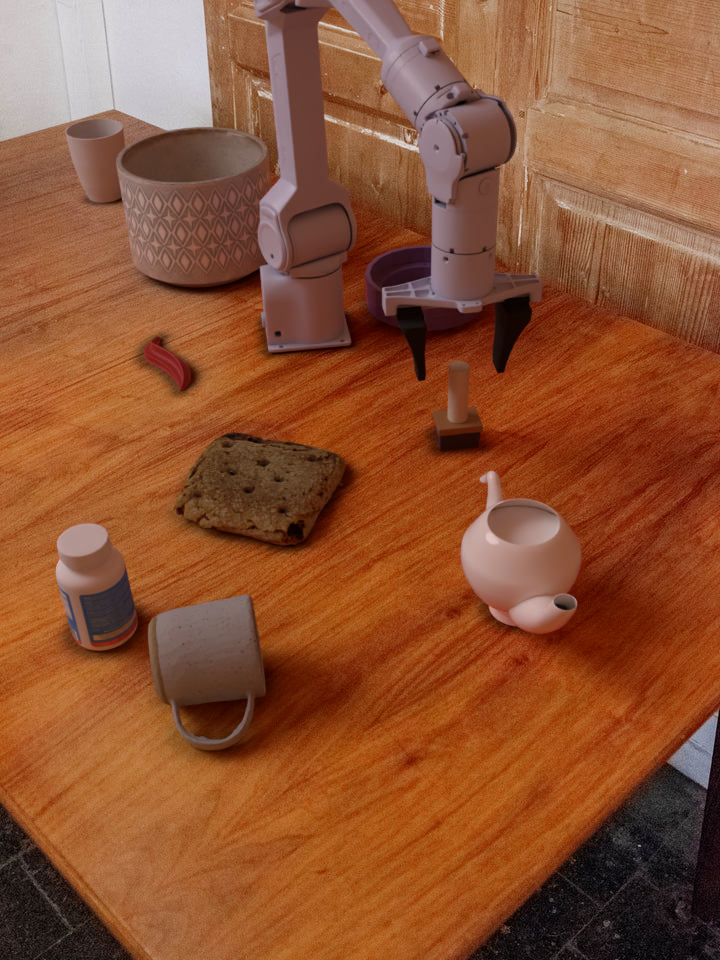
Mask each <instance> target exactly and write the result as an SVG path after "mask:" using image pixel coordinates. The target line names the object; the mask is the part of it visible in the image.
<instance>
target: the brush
mask: <svg viewBox="0 0 720 960" xmlns="http://www.w3.org/2000/svg"><path fill="white" fill-rule="evenodd" d="M470 373H471V366H470V364H469V363H467V362H465V361H463V360H462V361H461V360H457V361H453V362H451V363H449V365H448V378H447V379H448V381H447V382H448V386H447V409H439V410H432V417H431V418H432V420H433V423H434V437H435V440H436V443H437V446H438V449H439V451H440V452H447V451H456V450H465V449H476V448H479V447H480V442H481V441H480V440H481V433H482V432H483V431H484V428H483V427H484V426H483V423H482V420H481V417H480V414H479V412H478V410H477V407H476V406H470V407H469V397H470V396H469V395H470V375H471V374H470Z"/></svg>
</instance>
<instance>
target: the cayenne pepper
mask: <svg viewBox="0 0 720 960" xmlns="http://www.w3.org/2000/svg"><path fill="white" fill-rule="evenodd" d="M161 341H162V337H161V336H158V335H157V336H155V337H154V338H152V339H151V340H150V342H148V343H147V344H146V346H145V347H144V350H143V352H144V353H143V354H144V360H145V361H146V363H148V364H150V365H152V366H154V367H156V368H159V369H161V370H162V371H164V372H165V373H166V374H167V375H169V376H170V377H171V378H172V379H173V380H174V382H175V383H176V384H177V385H178V387H179V391H180V392H182V391H184V390H186V389H187V387H188V386H189V385H190V384H191V381H192V372H191V369H190V366H189V365H188V364H187V363H186V362H185V361H184V360H183V359H181V358H180V357H178V356H176V355H175V354H173V353H172V352H170V351H169V350H167V349H166V348H164V347H162V346H160V344H161V343H162V342H161Z"/></svg>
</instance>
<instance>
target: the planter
mask: <svg viewBox="0 0 720 960" xmlns="http://www.w3.org/2000/svg"><path fill="white" fill-rule="evenodd" d="M270 164H271V163H270V153H269V148H268V145H267V143H266V142H265V141H264V140H263V139H261V138H260V137H258V136H256V135H255V134H253V133H250V132H247V131H244V130H240V129H236V128H229V127H220V126H219V127H218V126H217V127H216V126H196V127H195V126H193V127H184V128H183V127H182V128H176V129H169V130H165V131H160V132H156V133H153V134H150V135H147V136H144V137H141V138H139V139H137V140H134V141H133V142H130V143H129V144H128V145H125V148H124V149H123V150H122V151H121V152H120V153H119V154H118V157H117V159H116V165H117V171H118V177H119V183H120V189H121V195H122V197H121V200H122V206H123V211H124V219H125V224H126V230H127V235H128V241H129V242H128V243H129V247H130V254H131V259H132V263H133V265H134V266H135V268H136V269H137V270H138V271H139V272H141V273H142V274H143V275H145V276H147V277H149V278H151V279H154V280H158V281H161V282H163V283H165V284H168V285H172V286H177V287H183V288H208V287H218V286H222V285H227V284H231V283H234V282H237V281H239V280H241V279H243V278H246V277H248V276H249V275H251V274H252V273H254V272H256V271H258V270H260V266H263V265H267V264H268V263H267V261H266V260H265V258H264V256H263V254H262V252H261V249H260V246H259V241H258V227H259V223H260V204H259V203H260V201H261V199H262V198H263V197H264V196H265V195H266V194H267V192H268V191H269V190H270V189H271V188H272V177H271V165H270Z"/></svg>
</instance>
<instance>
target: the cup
mask: <svg viewBox="0 0 720 960" xmlns="http://www.w3.org/2000/svg"><path fill="white" fill-rule="evenodd" d="M64 135H65V138H66V143H67V147H68V150H69V154H70V158H71V161H72V164H73V167H74V169H75V173H76V175H77V177H78V180H79V183H80V185H81V186H82V189H83V190H84V192H85V194H86V196H87V199H89V201H91V202H93V203H97V204H107V203H112V202H116V201H118V200H120V199H122V195H121V189H120V183H119V177H118V171H117V165H116V159H117V157H118V154H119V153H120V152H121V151H122V150H123V149H124V148H125V147H126V142H125V132H124V125H123V123H122V122H120V121H119V120H116V119H111V118H91V119H85V120H79V121H77V122H75V123H72V124H70V125H69V126H67V127H66V128H65V130H64Z"/></svg>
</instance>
